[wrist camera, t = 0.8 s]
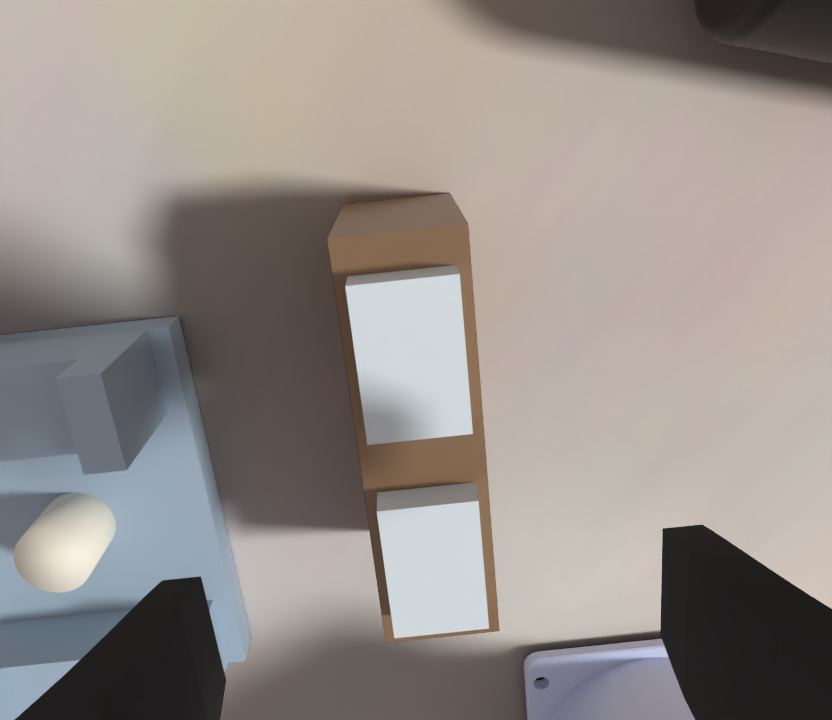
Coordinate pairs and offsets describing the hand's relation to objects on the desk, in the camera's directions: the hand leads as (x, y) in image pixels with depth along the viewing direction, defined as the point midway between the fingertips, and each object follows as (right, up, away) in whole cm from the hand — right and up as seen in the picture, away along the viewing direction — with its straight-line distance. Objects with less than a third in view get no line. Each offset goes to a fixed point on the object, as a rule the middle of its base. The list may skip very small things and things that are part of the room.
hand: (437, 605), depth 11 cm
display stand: (-10, -1, +10) cm, 14 cm away
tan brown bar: (0, +3, +9) cm, 10 cm away
